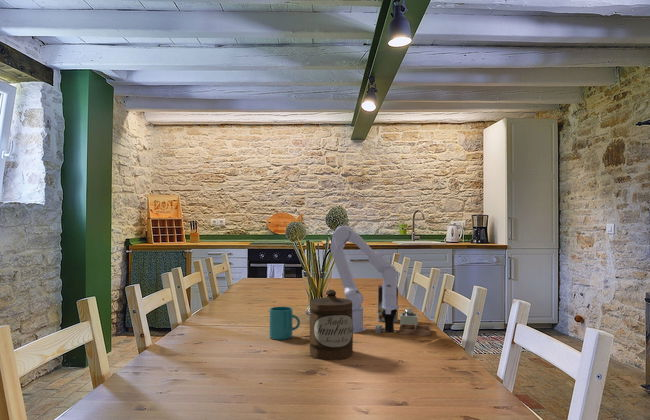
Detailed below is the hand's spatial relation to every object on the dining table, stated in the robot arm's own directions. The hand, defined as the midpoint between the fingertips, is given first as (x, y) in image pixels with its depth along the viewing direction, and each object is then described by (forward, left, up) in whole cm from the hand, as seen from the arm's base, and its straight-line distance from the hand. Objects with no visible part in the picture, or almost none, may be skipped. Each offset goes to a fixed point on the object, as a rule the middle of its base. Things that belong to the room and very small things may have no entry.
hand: (389, 328), depth 189 cm
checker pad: (-1, +1, -2) cm, 2 cm away
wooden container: (-39, -4, -2) cm, 39 cm away
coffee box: (+15, +12, -2) cm, 20 cm away
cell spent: (+15, +1, -1) cm, 15 cm away
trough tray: (+6, -9, -2) cm, 11 cm away
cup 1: (-36, +24, -2) cm, 43 cm away
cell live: (0, 0, -1) cm, 1 cm away
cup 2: (+15, +1, -2) cm, 15 cm away
